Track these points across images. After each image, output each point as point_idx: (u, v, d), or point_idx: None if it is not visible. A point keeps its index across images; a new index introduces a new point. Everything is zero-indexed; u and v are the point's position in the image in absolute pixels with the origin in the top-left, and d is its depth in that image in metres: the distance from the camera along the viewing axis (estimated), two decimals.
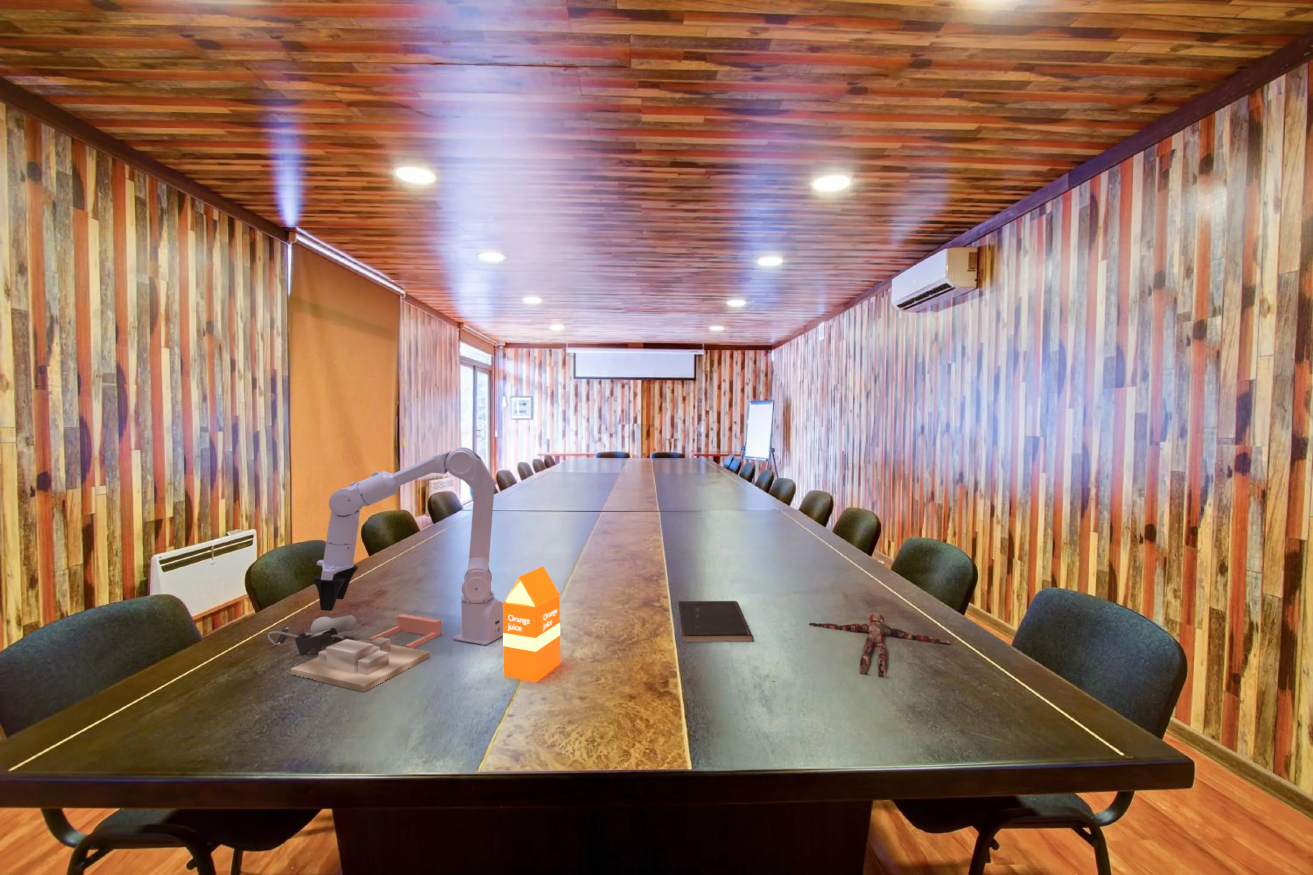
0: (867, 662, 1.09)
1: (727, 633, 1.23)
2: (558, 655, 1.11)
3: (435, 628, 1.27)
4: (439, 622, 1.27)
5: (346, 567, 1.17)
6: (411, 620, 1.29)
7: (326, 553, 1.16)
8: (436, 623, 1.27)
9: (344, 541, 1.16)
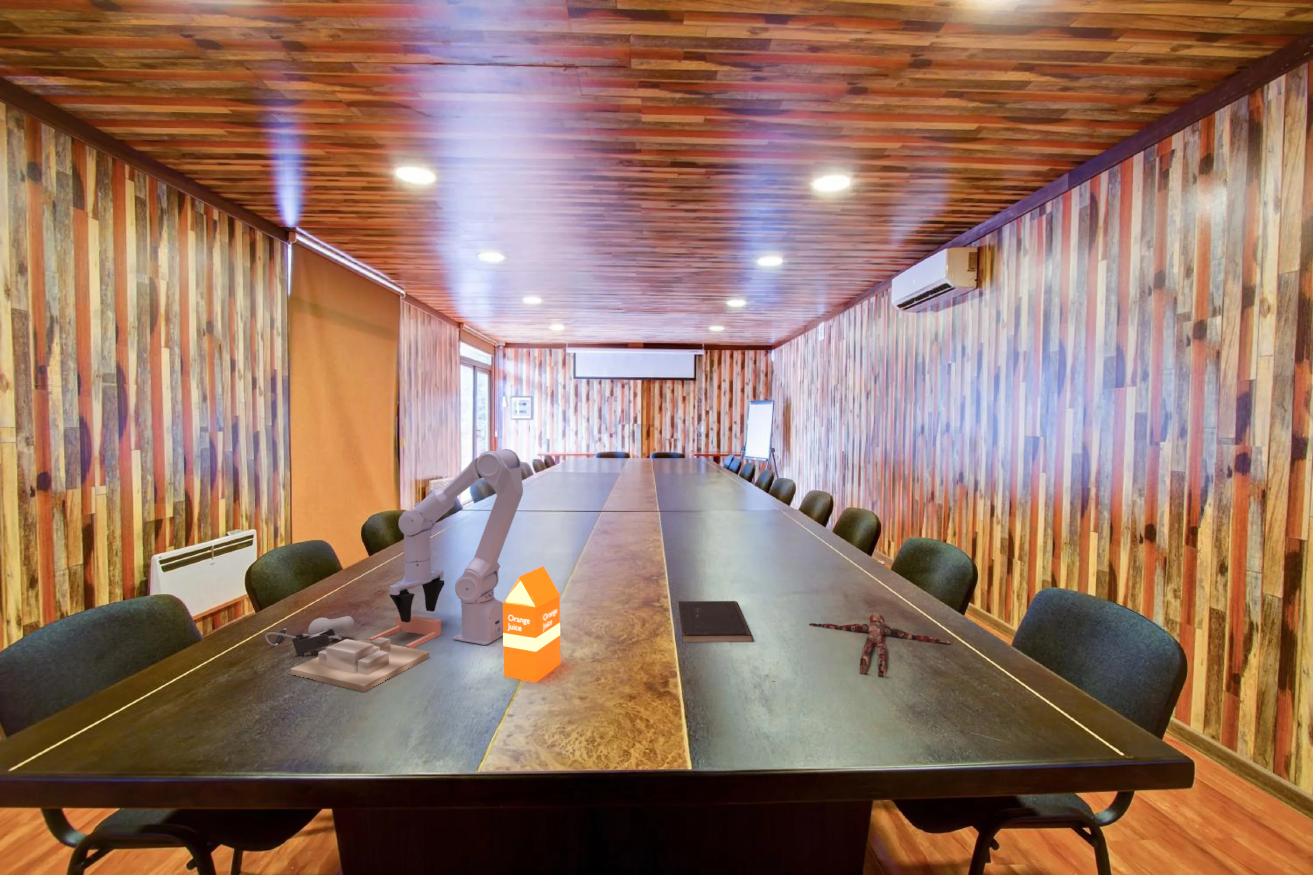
0: (867, 662, 1.09)
1: (727, 633, 1.23)
2: (558, 655, 1.11)
3: (435, 628, 1.27)
4: (439, 622, 1.27)
5: (417, 583, 1.26)
6: (411, 620, 1.29)
7: None
8: (436, 623, 1.27)
9: (415, 558, 1.26)
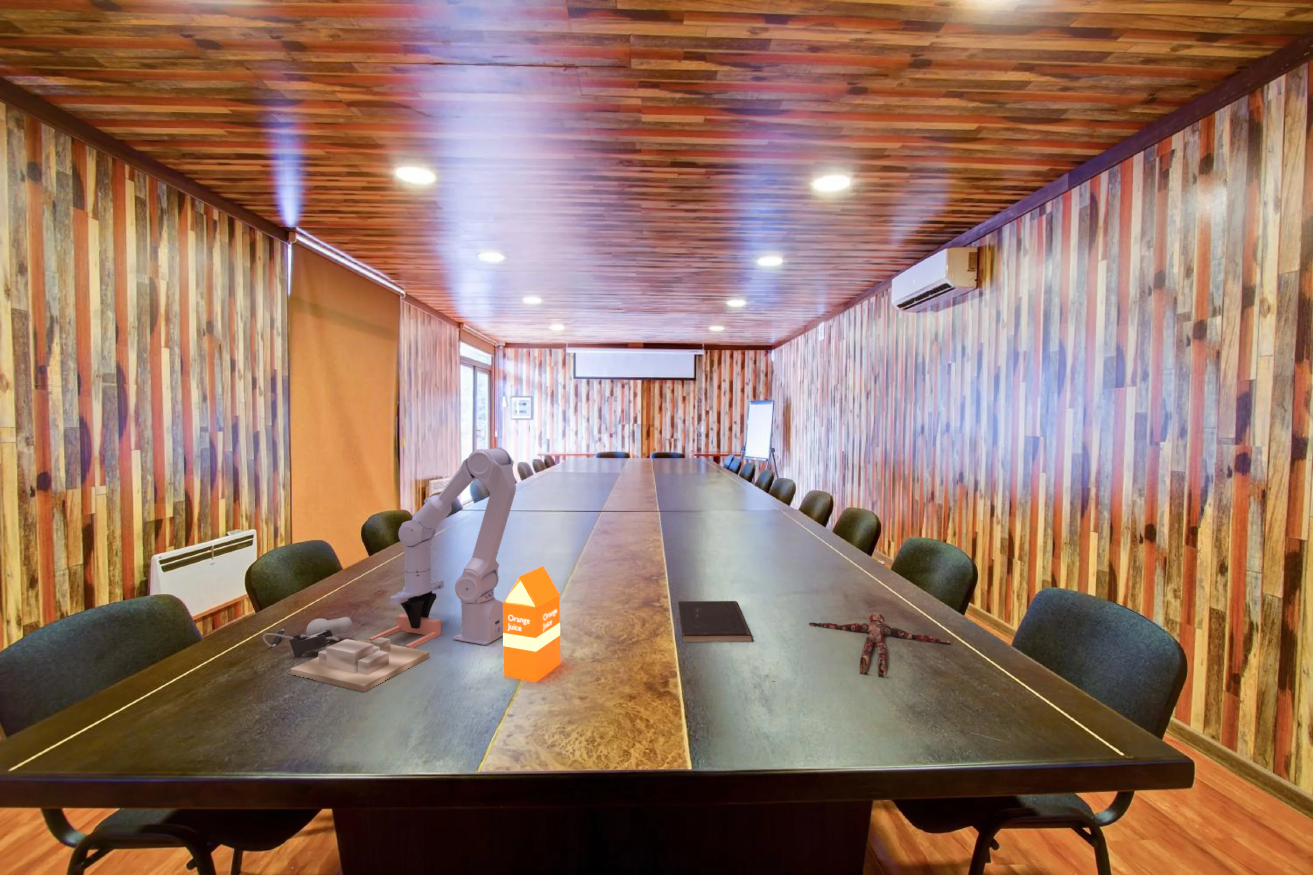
0: (867, 661, 1.09)
1: (727, 633, 1.23)
2: (558, 655, 1.11)
3: (435, 628, 1.27)
4: (439, 622, 1.27)
5: (417, 593, 1.26)
6: None
7: None
8: (436, 623, 1.27)
9: (415, 569, 1.26)
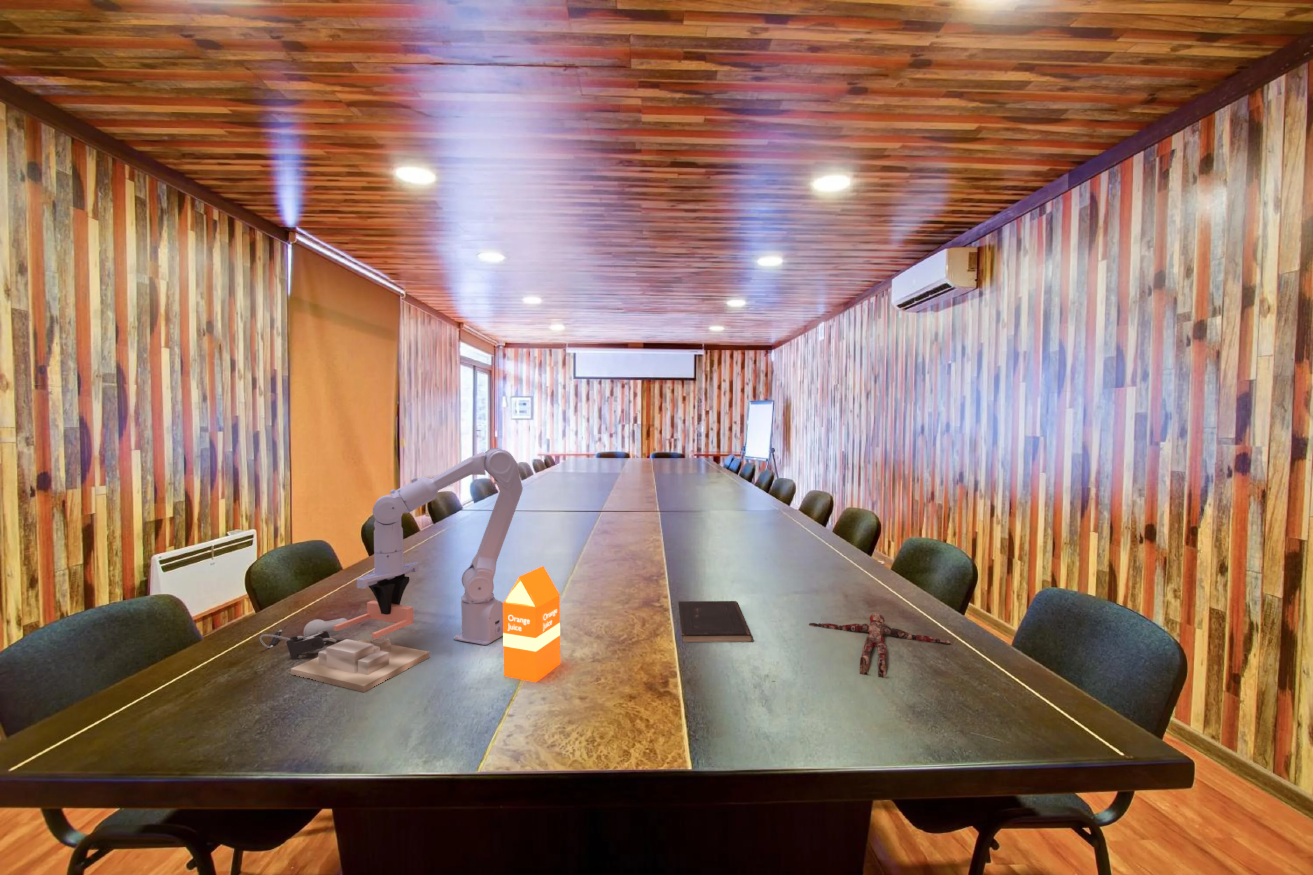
0: (867, 662, 1.09)
1: (726, 633, 1.23)
2: (558, 655, 1.11)
3: (406, 616, 1.16)
4: (411, 609, 1.17)
5: (387, 576, 1.16)
6: None
7: (374, 562, 1.18)
8: (407, 610, 1.16)
9: (394, 548, 1.17)
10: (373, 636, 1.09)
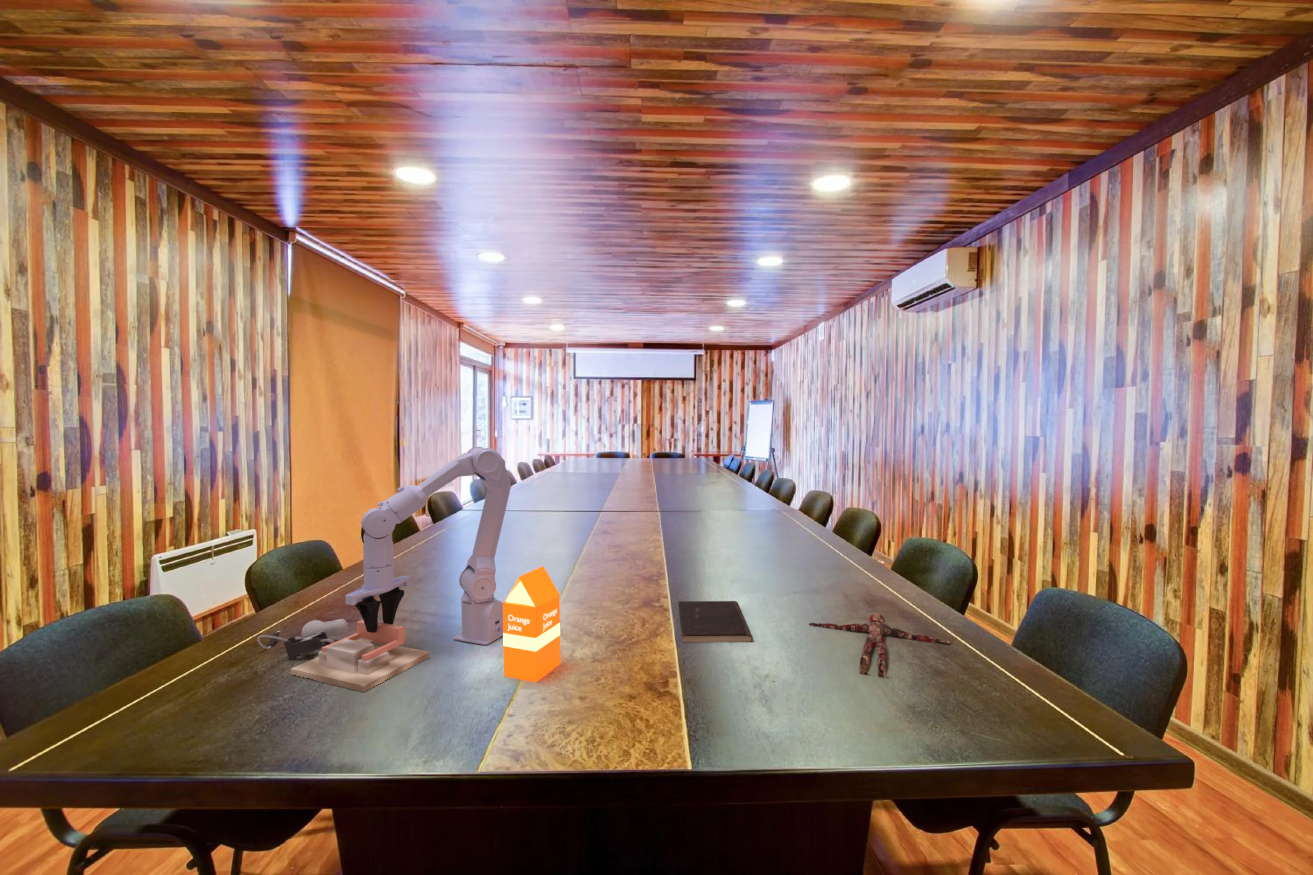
0: (867, 662, 1.09)
1: (726, 633, 1.23)
2: (558, 655, 1.11)
3: (398, 636, 1.13)
4: (402, 629, 1.14)
5: (377, 591, 1.12)
6: None
7: None
8: (399, 630, 1.13)
9: (386, 562, 1.14)
10: (363, 658, 1.06)
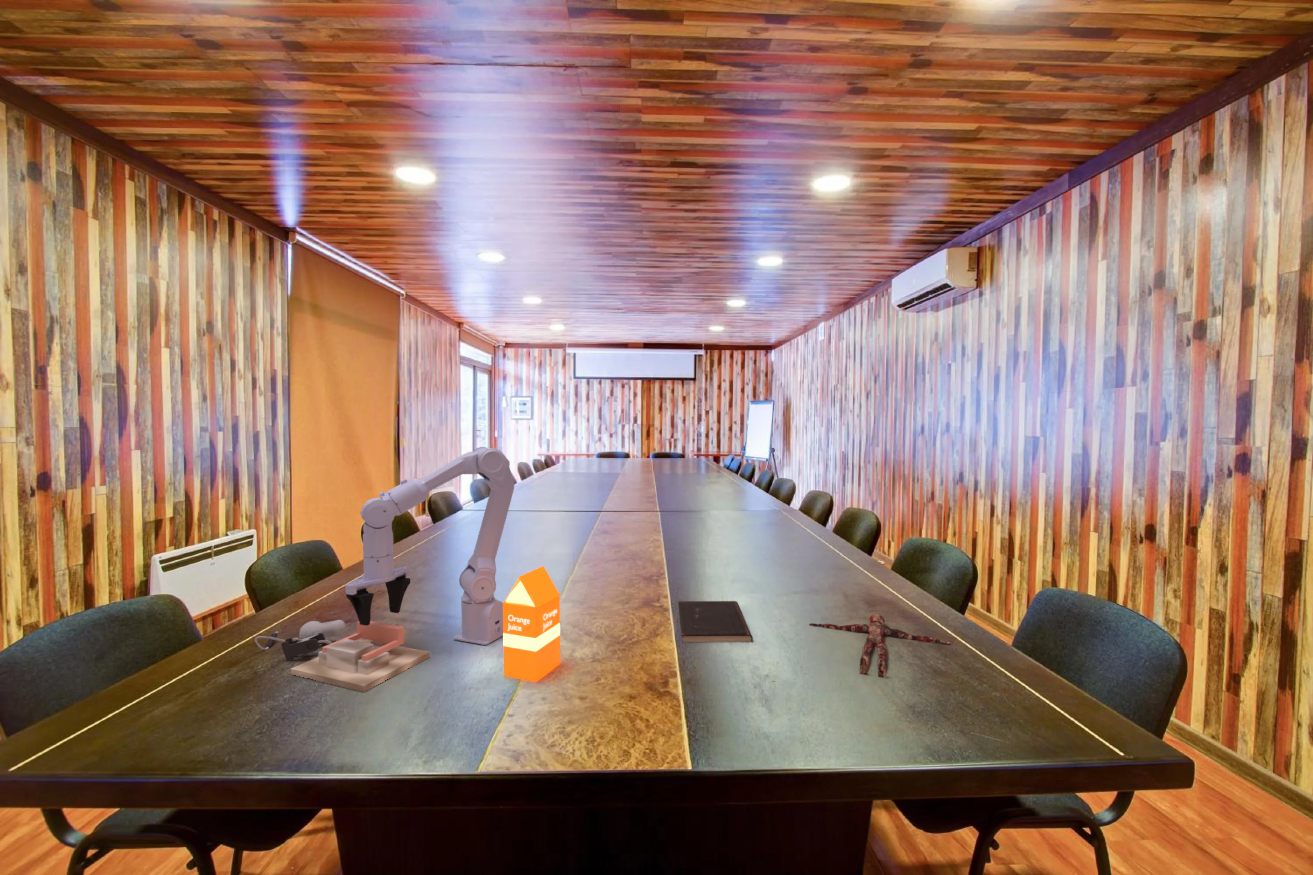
0: (867, 662, 1.09)
1: (726, 633, 1.23)
2: (558, 655, 1.11)
3: (398, 636, 1.13)
4: (402, 629, 1.14)
5: (377, 581, 1.12)
6: (372, 627, 1.16)
7: None
8: (399, 630, 1.13)
9: (386, 552, 1.14)
10: (363, 658, 1.06)
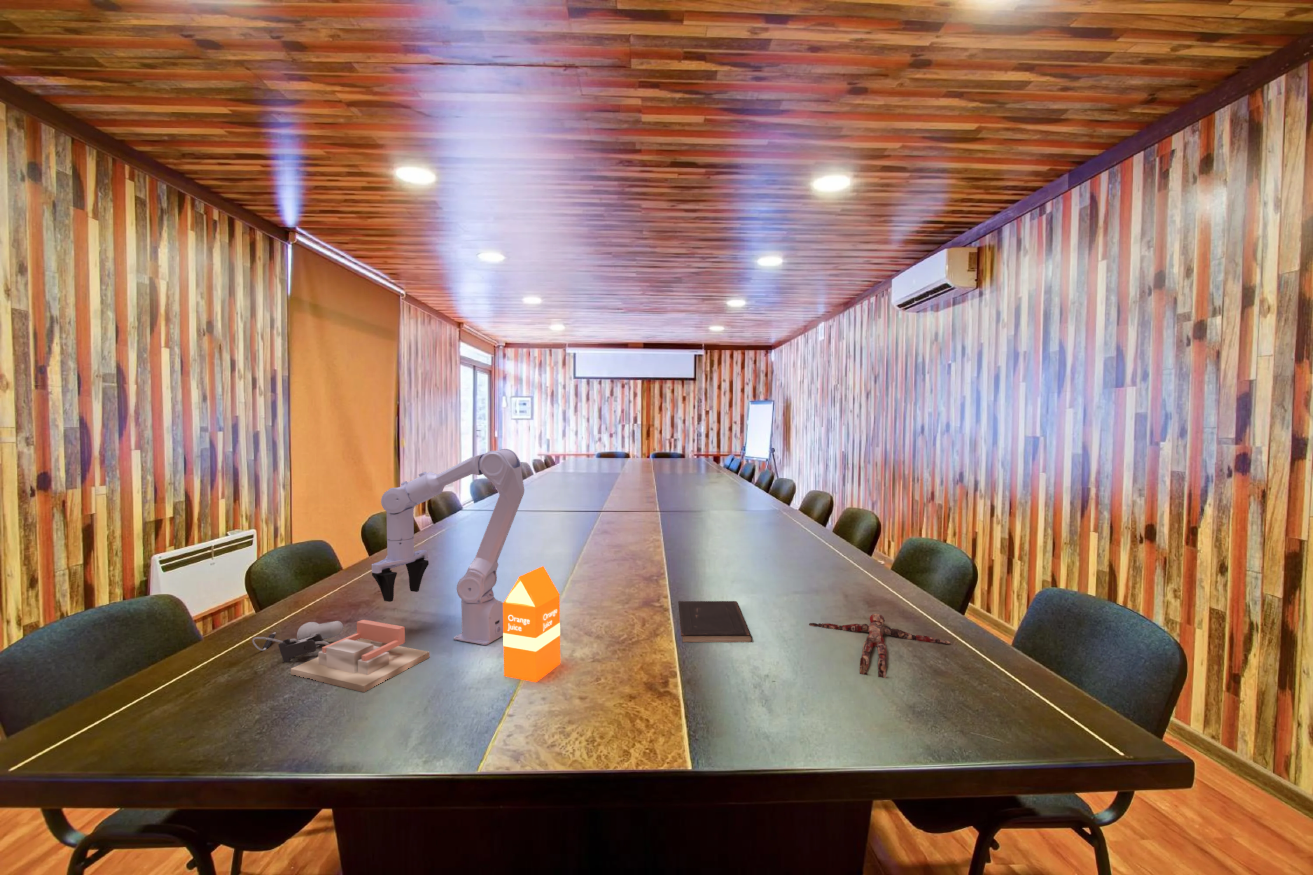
0: (867, 662, 1.09)
1: (726, 633, 1.23)
2: (558, 655, 1.11)
3: (398, 636, 1.13)
4: (402, 629, 1.14)
5: (399, 561, 1.24)
6: (372, 627, 1.16)
7: (387, 549, 1.26)
8: (399, 630, 1.13)
9: (399, 537, 1.24)
10: (363, 658, 1.06)
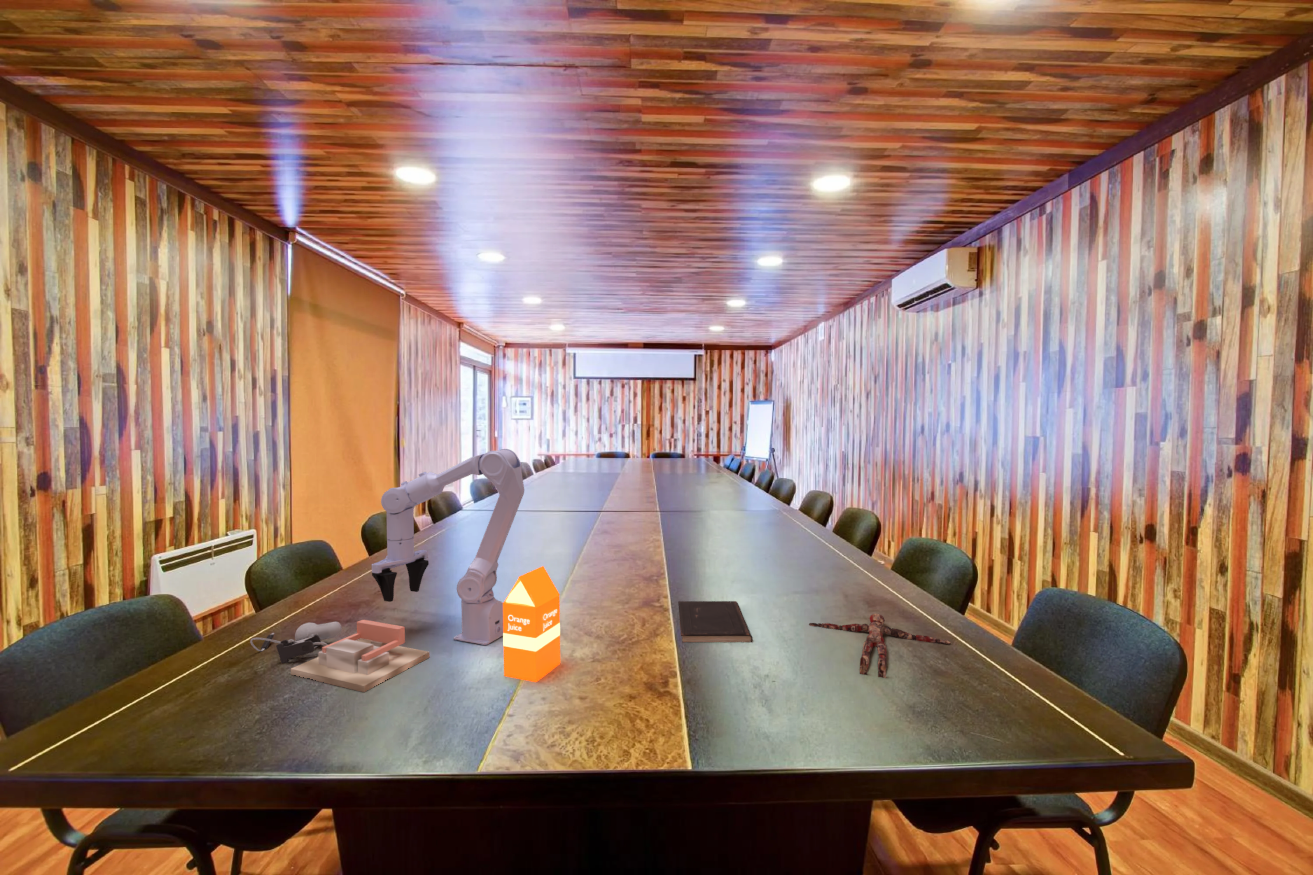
0: (867, 662, 1.09)
1: (726, 633, 1.23)
2: (558, 655, 1.11)
3: (398, 636, 1.13)
4: (402, 629, 1.14)
5: (399, 561, 1.24)
6: (372, 627, 1.16)
7: (387, 549, 1.26)
8: (399, 630, 1.13)
9: (399, 537, 1.24)
10: (363, 658, 1.06)
